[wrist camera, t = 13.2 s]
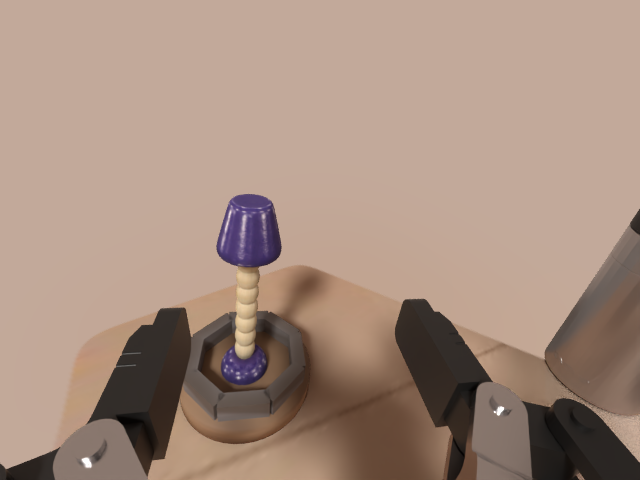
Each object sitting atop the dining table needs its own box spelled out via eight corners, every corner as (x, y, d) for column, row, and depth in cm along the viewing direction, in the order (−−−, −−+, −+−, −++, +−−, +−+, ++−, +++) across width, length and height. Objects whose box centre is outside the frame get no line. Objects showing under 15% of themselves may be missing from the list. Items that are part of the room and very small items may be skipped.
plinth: (301, 329, 36) (304, 304, 34) (316, 435, 26) (321, 408, 24) (194, 334, 34) (190, 308, 32) (163, 452, 23) (156, 423, 22)
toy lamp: (252, 337, 31) (254, 184, 23) (284, 364, 29) (298, 203, 21) (211, 366, 28) (196, 197, 20) (243, 399, 26) (242, 222, 18)
